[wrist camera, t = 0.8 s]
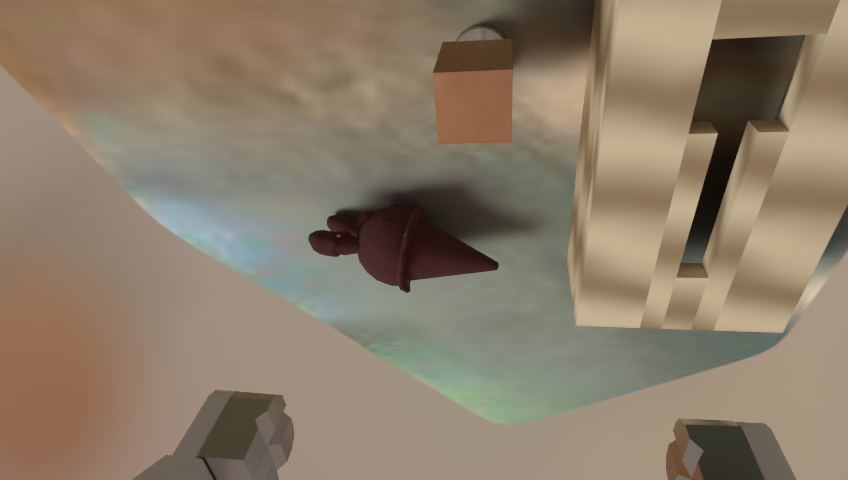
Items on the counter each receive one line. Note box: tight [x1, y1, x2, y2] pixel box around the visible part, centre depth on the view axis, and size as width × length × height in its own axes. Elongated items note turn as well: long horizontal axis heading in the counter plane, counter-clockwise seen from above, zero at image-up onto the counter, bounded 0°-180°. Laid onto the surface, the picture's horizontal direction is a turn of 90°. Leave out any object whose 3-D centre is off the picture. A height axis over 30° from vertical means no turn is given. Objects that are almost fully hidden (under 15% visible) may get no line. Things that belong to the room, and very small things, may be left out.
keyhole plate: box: [567, 0, 848, 333], centre depth 32 cm, size 24×14×8 cm, turn 5°
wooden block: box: [433, 24, 513, 144], centre depth 30 cm, size 4×4×9 cm
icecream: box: [309, 204, 499, 293], centre depth 41 cm, size 7×7×15 cm
